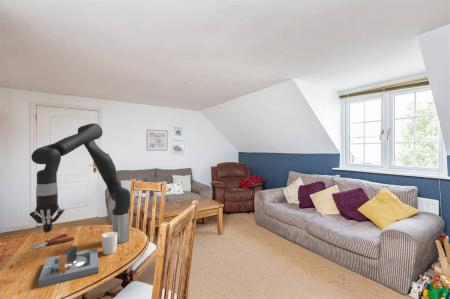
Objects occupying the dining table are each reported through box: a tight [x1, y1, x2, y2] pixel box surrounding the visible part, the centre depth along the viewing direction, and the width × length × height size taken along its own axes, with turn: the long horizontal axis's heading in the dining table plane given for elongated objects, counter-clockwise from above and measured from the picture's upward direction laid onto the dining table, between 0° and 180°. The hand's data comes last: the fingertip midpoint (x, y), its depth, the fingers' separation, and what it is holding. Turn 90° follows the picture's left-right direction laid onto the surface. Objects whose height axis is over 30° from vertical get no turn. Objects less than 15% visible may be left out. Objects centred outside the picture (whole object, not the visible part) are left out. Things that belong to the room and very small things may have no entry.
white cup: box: [101, 231, 118, 256], centre depth 127 cm, size 8×8×10 cm
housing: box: [37, 248, 100, 288], centre depth 110 cm, size 22×22×3 cm
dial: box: [57, 245, 86, 273], centre depth 108 cm, size 16×12×9 cm
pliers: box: [30, 233, 75, 250], centre depth 138 cm, size 12×20×3 cm, turn 149°
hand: (47, 231), depth 101 cm, fingers closed
